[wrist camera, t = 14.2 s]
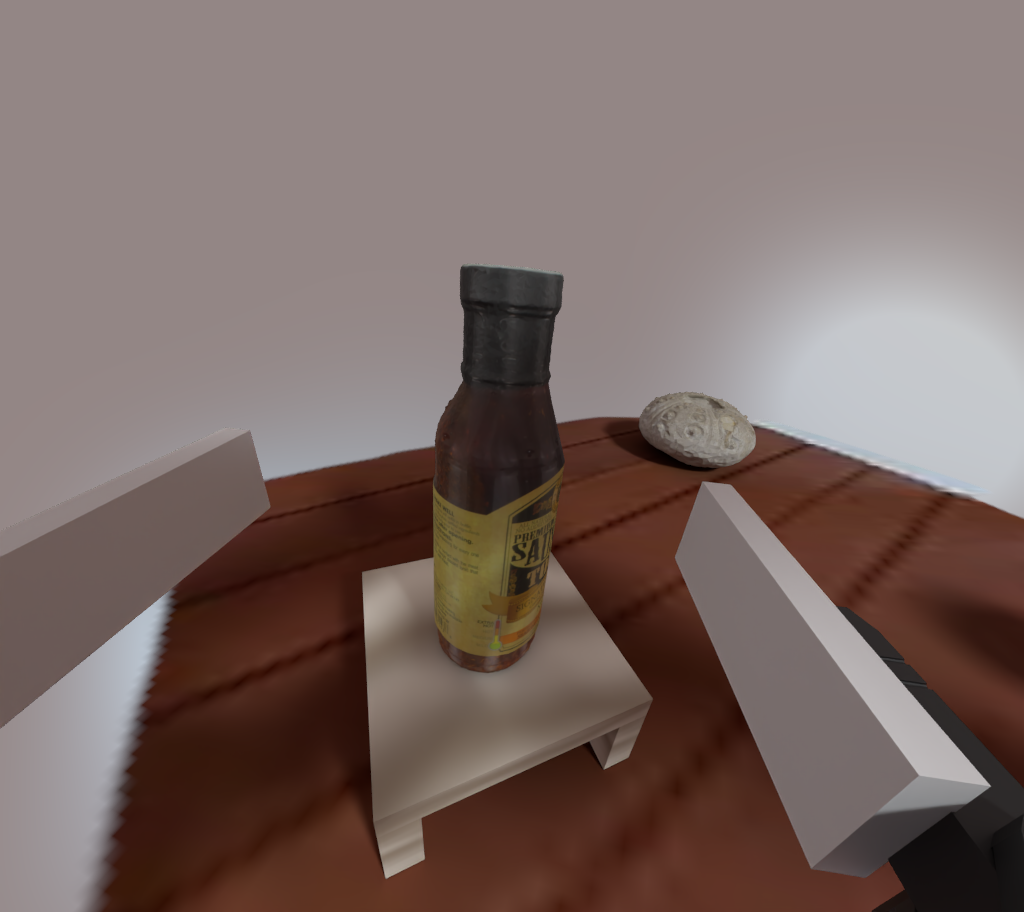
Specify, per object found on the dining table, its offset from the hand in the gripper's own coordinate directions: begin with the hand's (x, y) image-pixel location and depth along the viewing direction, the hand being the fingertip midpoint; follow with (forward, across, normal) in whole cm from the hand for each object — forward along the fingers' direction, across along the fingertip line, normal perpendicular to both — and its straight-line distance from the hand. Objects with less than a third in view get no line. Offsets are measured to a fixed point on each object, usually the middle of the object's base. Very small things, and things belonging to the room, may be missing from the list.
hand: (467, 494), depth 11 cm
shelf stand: (+6, 0, -20) cm, 21 cm away
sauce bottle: (+6, 0, -14) cm, 15 cm away
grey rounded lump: (+50, +28, -20) cm, 61 cm away
